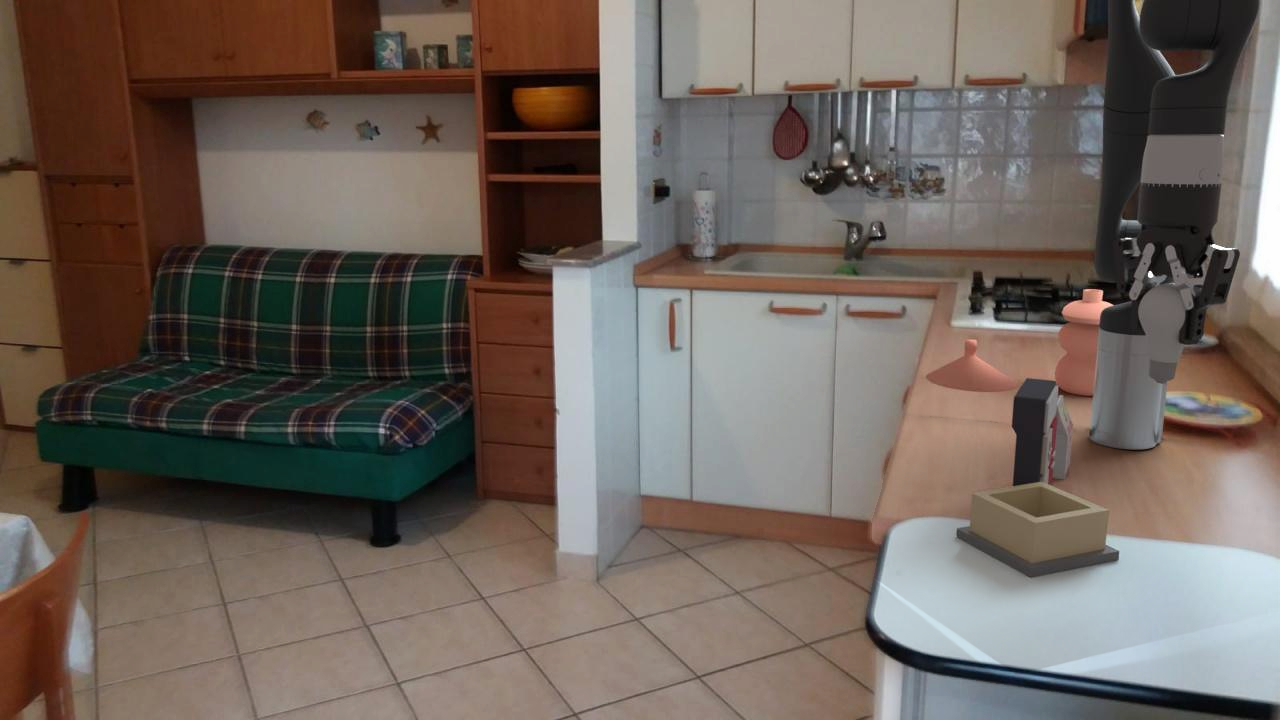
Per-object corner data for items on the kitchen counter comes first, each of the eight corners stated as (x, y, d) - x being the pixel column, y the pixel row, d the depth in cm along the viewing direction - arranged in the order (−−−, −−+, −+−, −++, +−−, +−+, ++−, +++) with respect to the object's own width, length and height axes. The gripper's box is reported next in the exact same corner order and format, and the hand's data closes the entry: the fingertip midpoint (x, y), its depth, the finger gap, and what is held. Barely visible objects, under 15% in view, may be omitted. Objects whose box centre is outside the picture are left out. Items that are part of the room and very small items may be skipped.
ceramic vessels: (906, 399, 178) (911, 293, 174) (910, 373, 198) (915, 277, 194) (1124, 413, 169) (1135, 301, 165) (1105, 384, 188) (1115, 283, 184)
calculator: (1042, 522, 122) (1052, 400, 118) (1004, 516, 124) (1013, 396, 120) (1053, 494, 131) (1063, 380, 128) (1018, 489, 133) (1026, 377, 130)
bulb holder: (1038, 521, 122) (1042, 477, 121) (1118, 559, 111) (1123, 511, 110) (956, 536, 117) (959, 491, 116) (1030, 577, 107) (1034, 527, 105)
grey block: (1035, 475, 138) (1040, 404, 136) (1041, 461, 144) (1046, 393, 142) (1064, 479, 137) (1070, 407, 134) (1069, 465, 142) (1075, 395, 140)
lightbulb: (1200, 392, 107) (1215, 289, 105) (1138, 389, 109) (1151, 287, 106) (1182, 377, 113) (1195, 279, 111) (1123, 374, 114) (1135, 277, 112)
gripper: (1270, 181, 101) (1250, 348, 105) (1150, 176, 114) (1136, 325, 118) (1215, 183, 99) (1196, 354, 102) (1099, 178, 112) (1086, 330, 115)
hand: (1164, 338), depth 110 cm, fingers closed on lightbulb, 5 cm apart
